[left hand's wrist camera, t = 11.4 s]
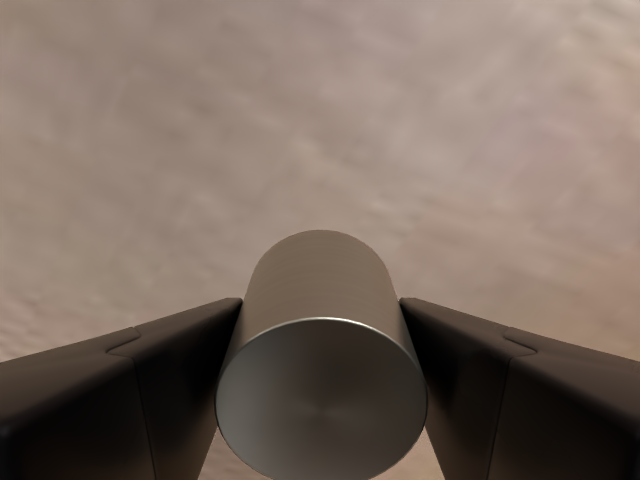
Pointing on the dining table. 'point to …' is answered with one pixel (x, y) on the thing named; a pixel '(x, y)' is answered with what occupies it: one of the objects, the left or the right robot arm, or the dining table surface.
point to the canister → (320, 365)
